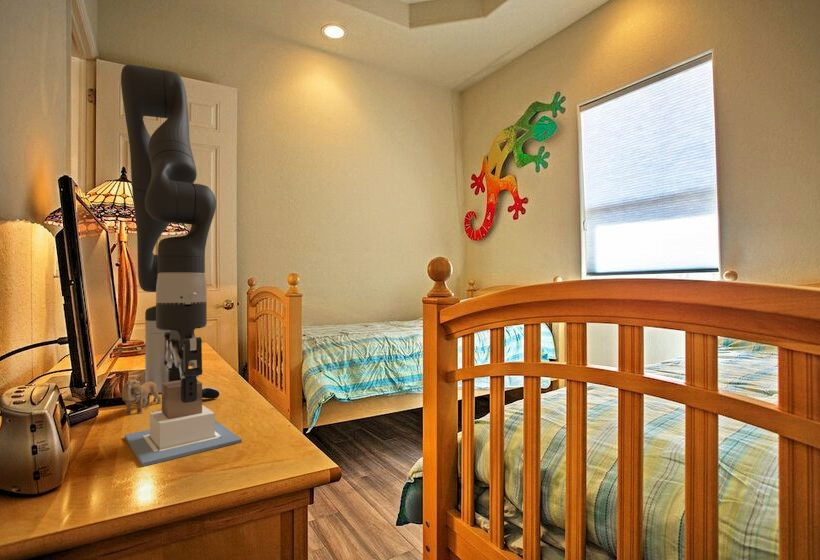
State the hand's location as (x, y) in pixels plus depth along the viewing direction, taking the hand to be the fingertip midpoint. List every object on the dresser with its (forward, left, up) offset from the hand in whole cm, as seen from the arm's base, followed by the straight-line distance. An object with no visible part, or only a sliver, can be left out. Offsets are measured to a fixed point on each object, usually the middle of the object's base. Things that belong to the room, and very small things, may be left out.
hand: (182, 396), depth 71 cm
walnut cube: (0, 0, -3) cm, 3 cm away
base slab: (0, 0, -7) cm, 7 cm away
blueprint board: (0, 0, -7) cm, 7 cm away
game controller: (-20, +9, -8) cm, 23 cm away
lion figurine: (-25, -2, -8) cm, 26 cm away
